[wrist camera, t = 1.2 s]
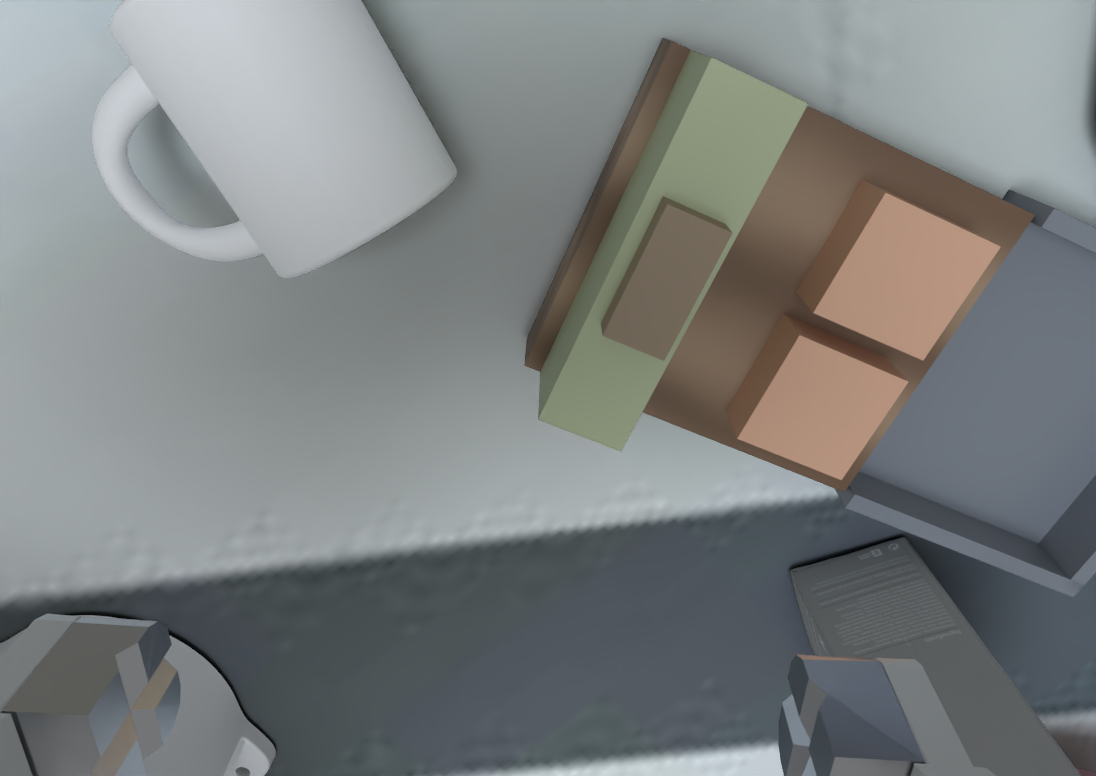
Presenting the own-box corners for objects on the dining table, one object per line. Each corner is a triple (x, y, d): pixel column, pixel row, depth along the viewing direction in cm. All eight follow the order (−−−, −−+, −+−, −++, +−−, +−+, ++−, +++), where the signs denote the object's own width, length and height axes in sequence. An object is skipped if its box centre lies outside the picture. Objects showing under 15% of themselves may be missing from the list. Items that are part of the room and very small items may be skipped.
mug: (336, -81, 31) (269, -106, 24) (469, 159, 35) (446, 200, 27) (92, 78, 33) (-36, 99, 26) (241, 285, 37) (164, 354, 30)
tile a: (824, 451, 37) (841, 480, 35) (726, 411, 36) (737, 438, 34) (885, 357, 35) (908, 381, 33) (783, 313, 34) (799, 335, 32)
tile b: (899, 337, 34) (923, 360, 32) (795, 292, 34) (813, 312, 31) (970, 229, 33) (1000, 246, 30) (862, 179, 32) (885, 192, 29)
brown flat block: (825, 459, 40) (844, 491, 38) (526, 339, 38) (524, 365, 35) (998, 198, 35) (1035, 215, 32) (662, 37, 32) (672, 41, 30)
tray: (1035, 553, 43) (1073, 597, 40) (823, 468, 41) (845, 508, 38) (1244, 303, 37) (1309, 331, 34) (1009, 189, 35) (1054, 208, 32)
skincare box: (785, 565, 43) (898, 843, 29) (921, 526, 42) (1109, 796, 28) (820, 678, 47) (936, 978, 32) (947, 645, 46) (1126, 941, 31)
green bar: (613, 400, 36) (623, 467, 31) (540, 371, 35) (537, 434, 30) (774, 90, 30) (818, 107, 25) (690, 49, 30) (718, 59, 25)
